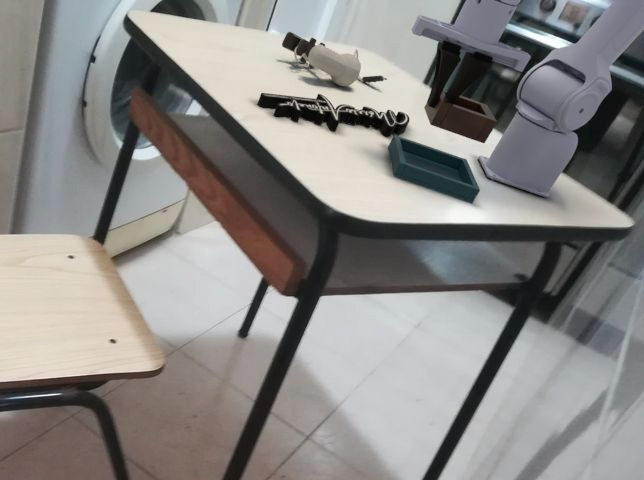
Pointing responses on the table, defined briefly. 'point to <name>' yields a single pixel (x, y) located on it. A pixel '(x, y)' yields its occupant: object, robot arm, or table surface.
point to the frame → (462, 117)
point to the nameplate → (334, 113)
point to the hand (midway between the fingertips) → (436, 107)
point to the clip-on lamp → (328, 60)
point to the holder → (432, 169)
